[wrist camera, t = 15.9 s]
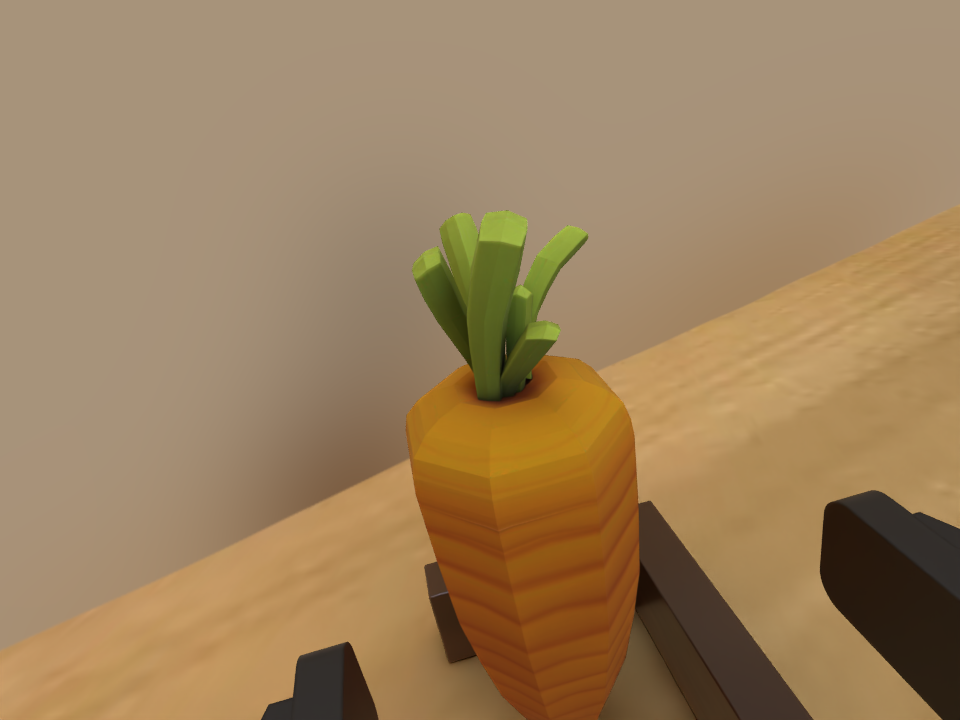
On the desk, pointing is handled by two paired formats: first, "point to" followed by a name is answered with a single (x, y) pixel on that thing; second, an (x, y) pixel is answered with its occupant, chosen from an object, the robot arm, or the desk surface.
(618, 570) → the carrot
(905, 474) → the desk surface
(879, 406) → the desk surface
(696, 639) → the corner stop
